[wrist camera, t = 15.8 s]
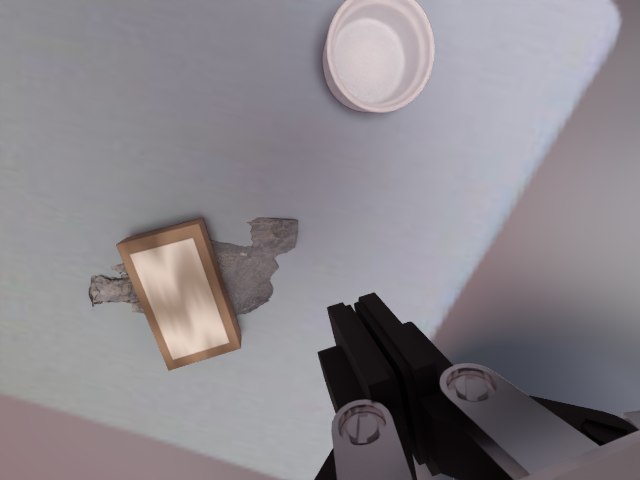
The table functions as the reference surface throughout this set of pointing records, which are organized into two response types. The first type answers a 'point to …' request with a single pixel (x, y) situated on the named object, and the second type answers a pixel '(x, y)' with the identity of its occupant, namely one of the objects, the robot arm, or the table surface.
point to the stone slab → (222, 268)
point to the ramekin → (378, 54)
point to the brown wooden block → (182, 292)
